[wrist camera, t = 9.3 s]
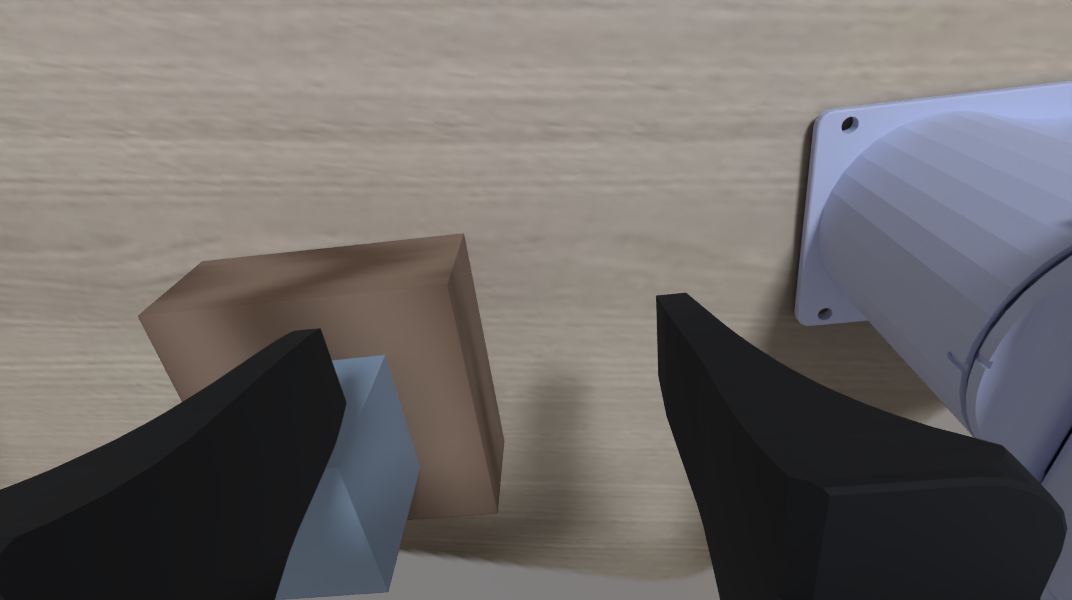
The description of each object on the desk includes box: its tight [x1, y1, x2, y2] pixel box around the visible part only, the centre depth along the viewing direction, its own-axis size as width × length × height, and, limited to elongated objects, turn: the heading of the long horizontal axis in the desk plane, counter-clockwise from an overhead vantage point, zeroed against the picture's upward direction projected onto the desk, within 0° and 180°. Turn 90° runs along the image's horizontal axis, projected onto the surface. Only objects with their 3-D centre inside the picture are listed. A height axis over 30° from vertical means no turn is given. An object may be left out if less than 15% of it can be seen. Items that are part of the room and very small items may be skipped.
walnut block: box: [138, 234, 504, 520], centre depth 23 cm, size 10×10×4 cm
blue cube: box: [275, 355, 420, 600], centre depth 19 cm, size 5×5×5 cm
